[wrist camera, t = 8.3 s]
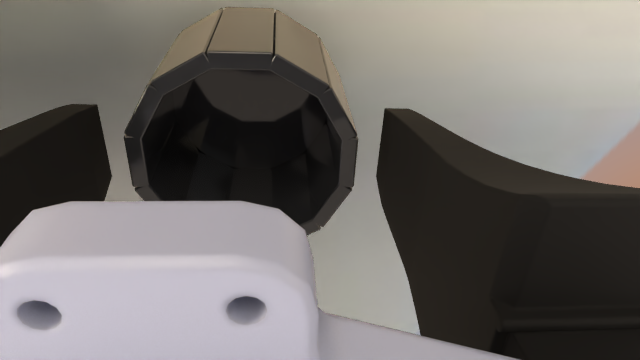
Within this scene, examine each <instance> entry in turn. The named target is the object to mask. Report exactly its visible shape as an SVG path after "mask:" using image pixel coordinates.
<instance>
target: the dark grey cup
mask: <svg viewBox="0 0 640 360" xmlns="http://www.w3.org/2000/svg"><path fill="white" fill-rule="evenodd" d="M124 141H125V147H126V152H127V158H128V163H129V169H130V174H131V180H132V185H133V187H135V191H136V192H137V193H138V194H139V195H140V197H141V198H142V199H143V200H144V201H245V202H249V203H254V204H259V205H263V206H268V207H273V208H277V209H280V210H281V211H282V212H283V213H285V214H286V215H287V216H288V217H290V218H291V219H292V220H293V221H294V222H296V223H297V224H298V225H299V226H301V227H302V228H303V229H304V230H305V232H306V235H309V234H311V233H313V232H315V231H317V230H320V229H321V227H323V226H324V225H325V224H326V223H327V222H328V220H329V219H330V218H331V216H332V215H333V214H334V213H335V211H336V210H337V209H338V207H339V206H340V205H341V204H342V202H343V201H344V200H345V198H346V197H347V196H348V195H349V193H350V192H351V191H352V187H353V186H354V178H355V168H356V158H357V147H358V137H357V132H356V128H355V125H354V122H353V118H352V115H351V112H350V108H349V105H348V102H347V98H346V95H345V92H344V88H343V85H342V82H341V79H340V75H339V73H338V71H337V69H336V68H335V66H334V64H333V62H332V60H331V58H330V56H329V54H328V52H327V50H326V48H325V46H324V44H323V43H322V41H321V39H320V37H318V36H317V34H316V33H314V32H312V31H311V30H309V29H308V28H306V27H304V26H303V25H301V24H300V23H298V22H296V21H295V20H293V19H292V18H290V17H288V16H287V15H285V14H284V13H282V12H280V11H279V10H276V11H275V13H274V9H273V8H245V7H225V8H224V9H223V8H220V9H219V10H217V11H215V12H213V13H212V14H210V15H208V16H206V17H205V18H203V19H201V20H199V21H198V22H196V23H194V24H193V25H191V26H189V27H187V28H186V29H184V30H182V32H181V33H180V34H179V35H178V36H177V38H176V39H175V41H174V43H173V44H172V46H171V47H170V49H169V51H168V52H167V54H166V55H165V57H164V59H163V60H162V62H161V63H160V65H159V67H158V68H157V70H156V71H155V73H154V75H153V76H152V78H151V79H150V81H149V83H148V84H147V86H146V88H145V90H144V92H143V94H142V96H141V98H140V100H139V102H138V104H137V107H136V109H135V111H134V113H133V115H132V117H131V119H130V121H129V123H128V125H127V127H126V129H125V135H124ZM320 226H321V227H320Z"/></svg>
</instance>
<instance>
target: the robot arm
mask: <svg viewBox="0 0 640 360" xmlns="http://www.w3.org/2000/svg"><path fill="white" fill-rule="evenodd" d="M111 177H112V174H111V170H110V165H109V160H108V155H107V150H106V145H105V140H104V135H103V130H102V126H101V121H100V116H99V111H98V106H97V105H87V104H71V105H65V106H62V107H58V108H55V109H53V110H50V111H47V112H44V113H42V114H39V115H37V116H34V117H32V118H29V119H27V120H25V121H22V122H20V123H17V124H15V125H12V126H10V127H7V128H5V129H2V130H0V360H640V188H633V187H625V186H617V185H609V184H603V183H598V182H592V181H587V180H582V179H577V178H572V177H568V176H564V175H560V174H555V173H552V172H548V171H545V170H541V169H538V168H534V167H531V166H528V165H525V164H522V163H519V162H516V161H513V160H511V159H508V158H505V157H503V156H500V155H498V154H495V153H493V152H490V151H488V150H486V149H484V148H482V147H480V146H478V145H475V144H473V143H471V142H469V141H467V140H465V139H464V138H462V137H460V136H458V135H456V134H454V133H452V132H451V131H449V130H447V129H445V128H444V127H442V126H440V125H439V124H437V123H435V122H433V121H432V120H430V119H428V118H426V117H425V116H423V115H421V114H419V113H417V112H415V111H413V110H410V109H390V108H385V110H384V118H383V126H382V134H381V142H380V150H379V158H378V166H377V175H376V177H377V183H378V189H379V194H380V199H381V204H382V207H383V210H384V213H385V216H386V219H387V221H388V224H389V227H390V230H391V232H392V235H393V238H394V240H395V243H396V246H397V249H398V251H399V254H400V257H401V259H402V262H403V265H404V268H405V271H406V274H407V277H408V280H409V284H410V289H411V293H412V297H413V302H414V306H415V310H416V315H417V320H418V324H419V329H420V334H421V336H420V335H416V334H412V333H408V332H404V331H400V330H395V329H391V328H387V327H383V326H379V325H375V324H371V323H366V322H362V321H358V320H354V319H350V318H346V317H341V316H337V315H333V314H329V313H325V312H324V311H322V310H321V309H320V308H319V307H318V302H317V291H316V281H315V271H314V260H313V255H312V252H311V248H310V245H309V242H308V238H307V235H306V232H305V230H304V229H303V228H302V227H301V226H299V225H298V224H297V223H296V222H294V221H293V220H292V219H291V218H290V217H288V216H287V215H286V214H285V213H283V212H282V211H281V210H280V209H277V208H273V207H268V206H263V205H259V204H254V203H249V202H245V201H104V200H105V197H106V194H107V191H108V187H109V184H110V181H111Z"/></svg>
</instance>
